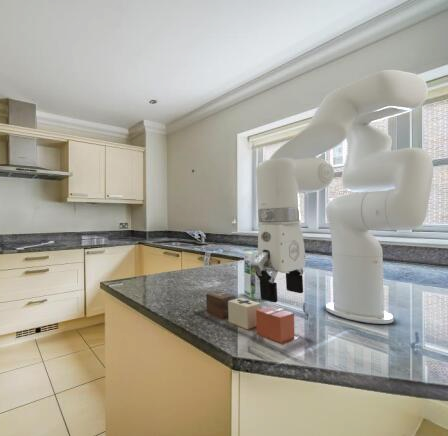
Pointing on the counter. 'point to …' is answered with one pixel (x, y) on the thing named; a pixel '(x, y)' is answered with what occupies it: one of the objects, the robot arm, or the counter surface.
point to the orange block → (275, 323)
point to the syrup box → (251, 275)
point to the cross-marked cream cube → (243, 312)
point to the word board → (255, 332)
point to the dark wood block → (218, 303)
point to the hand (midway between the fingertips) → (282, 295)
